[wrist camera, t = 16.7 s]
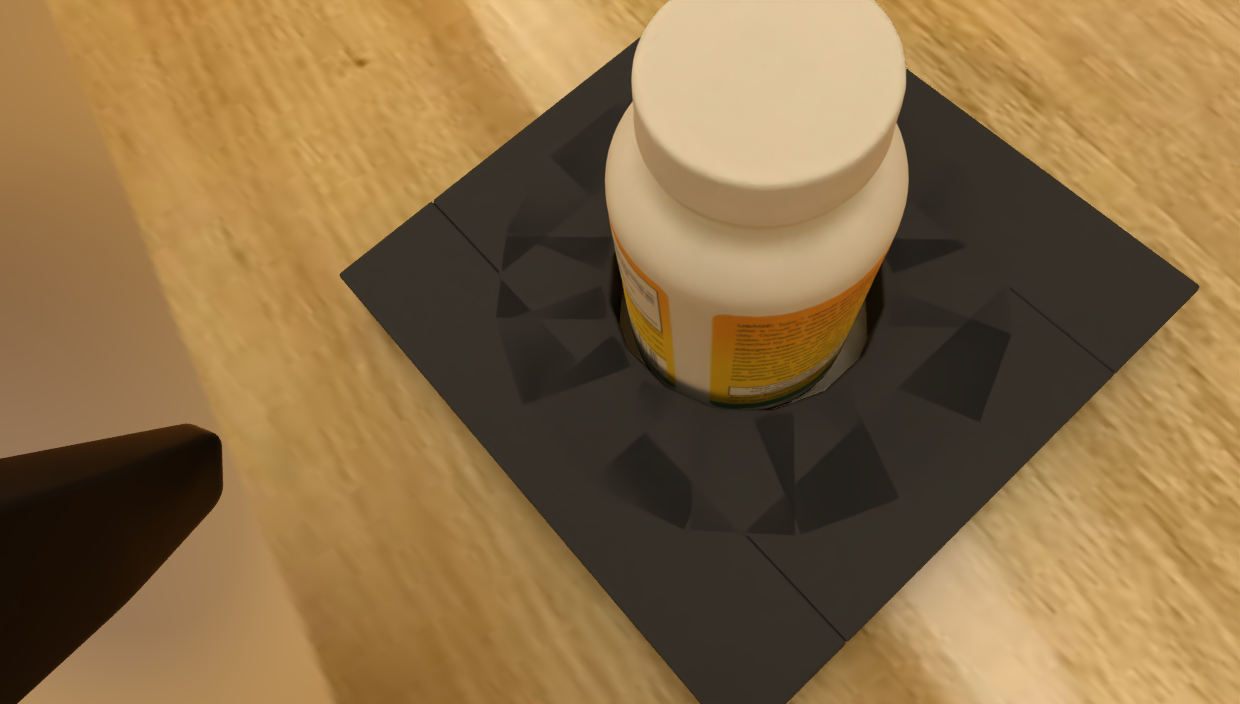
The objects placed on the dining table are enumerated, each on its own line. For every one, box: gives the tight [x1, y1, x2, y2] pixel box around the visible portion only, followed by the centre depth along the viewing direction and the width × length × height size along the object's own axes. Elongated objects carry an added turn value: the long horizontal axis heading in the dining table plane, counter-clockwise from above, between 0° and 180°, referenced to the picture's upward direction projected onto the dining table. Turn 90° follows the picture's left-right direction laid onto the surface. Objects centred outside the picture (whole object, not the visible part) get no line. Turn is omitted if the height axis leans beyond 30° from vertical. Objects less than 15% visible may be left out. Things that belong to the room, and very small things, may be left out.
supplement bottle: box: [605, 0, 909, 410], centre depth 16 cm, size 5×5×10 cm
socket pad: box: [340, 37, 1199, 704], centre depth 20 cm, size 14×14×2 cm
